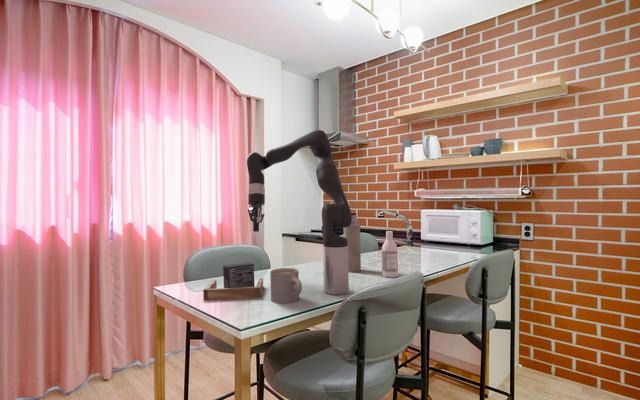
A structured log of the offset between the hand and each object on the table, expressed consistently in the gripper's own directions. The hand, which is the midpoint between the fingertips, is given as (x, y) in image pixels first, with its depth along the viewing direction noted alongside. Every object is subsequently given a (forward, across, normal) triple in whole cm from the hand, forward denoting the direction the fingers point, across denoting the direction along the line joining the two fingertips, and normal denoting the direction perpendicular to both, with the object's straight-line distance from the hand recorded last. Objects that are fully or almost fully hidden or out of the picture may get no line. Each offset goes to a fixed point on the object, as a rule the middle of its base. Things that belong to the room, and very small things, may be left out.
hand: (256, 231), depth 159 cm
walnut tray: (+26, +18, +1) cm, 32 cm away
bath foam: (+22, -20, +57) cm, 64 cm away
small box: (+26, +16, +1) cm, 31 cm away
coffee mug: (+30, +24, +24) cm, 45 cm away
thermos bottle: (+18, -28, +38) cm, 51 cm away
